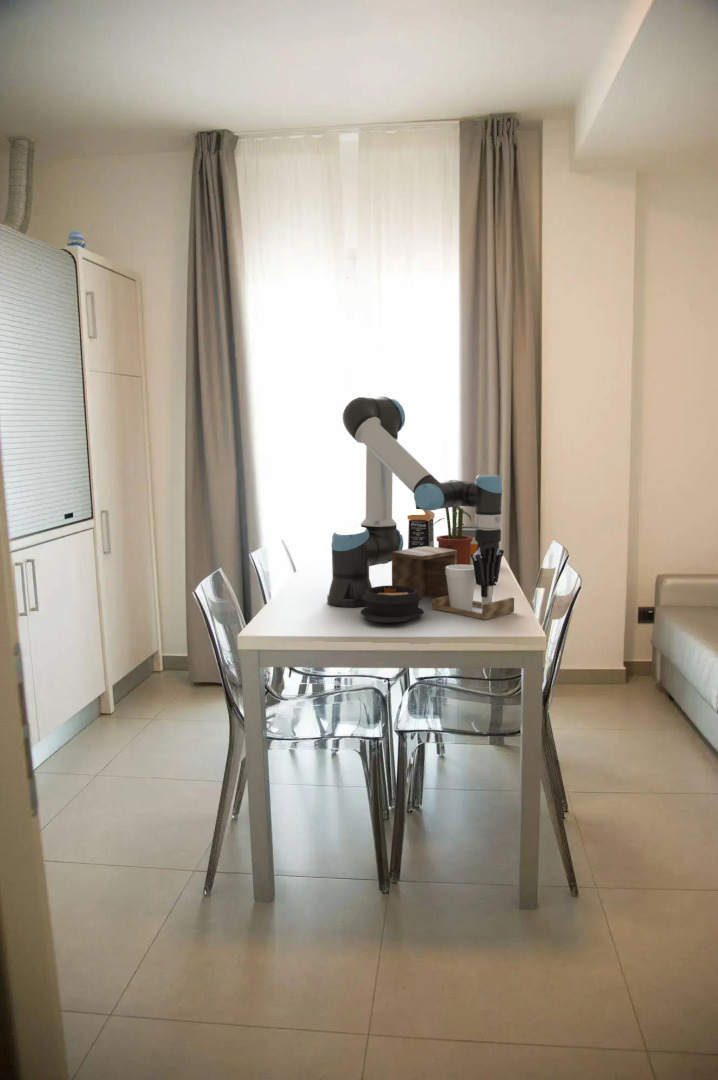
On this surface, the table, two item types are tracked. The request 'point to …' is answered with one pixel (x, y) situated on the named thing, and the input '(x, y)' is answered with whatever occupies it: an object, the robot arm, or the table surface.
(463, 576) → the foam cup
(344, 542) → the robot arm
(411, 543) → the whiskey bottle
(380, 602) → the casserole
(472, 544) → the reusable coffee cup
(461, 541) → the potted plant
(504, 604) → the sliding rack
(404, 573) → the cubby cabinet
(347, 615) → the table surface
